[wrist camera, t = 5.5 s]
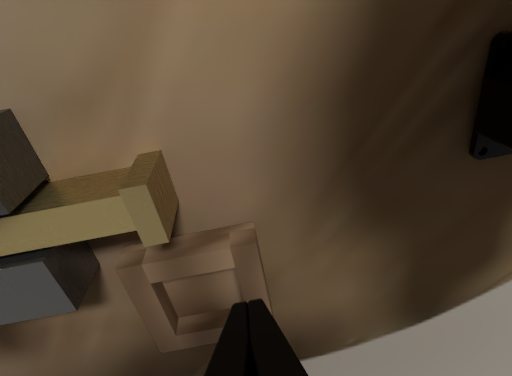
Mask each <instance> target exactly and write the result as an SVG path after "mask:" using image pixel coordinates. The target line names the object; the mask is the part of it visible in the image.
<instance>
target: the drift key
mask: <svg viewBox="0 0 512 376" xmlns="http://www.w3.org/2000/svg"><path fill="white" fill-rule="evenodd" d="M178 202H179V201H178V198H177V195H176V192H175V189H174V187H173V184H172V181H171V178H170V175H169V172H168V169H167V167H166V164H165V161H164V158H163V155H162V152H161V151H156V152H150V153H145V154H140V155H138V156H137V158H136V159H135V161H134V163H133V165H132V166H131V167H129V168H124V169H119V170H114V171H108V172H103V173H98V174H93V175H88V176H82V177H77V178H72V179H67V180H61V181H56V182H51V183H46V184H40V185H38V186H37V187H36V188H35V189H34V190H33V191H32V192H31V193H30V194H29V195H28V196H27V197H26V198H25V199H24V200H23V201H22V202H21V203H20V204H19V205H18V206H17V207H16V208H15V209H13V210H12V211H11V212H10V213H9V214H5V215H0V256H4V255H10V254H15V253H20V252H26V251H31V250H36V249H41V248H47V247H52V246H57V245H63V244H68V243H73V242H78V241H84V240H89V239H94V238H99V237H105V236H110V235H115V234H121V233H126V232H131V231H136V230H137V232H138V234H139V237H140V239H141V241H142V243H143V245H144V247H147V246H152V245H158V244H163V243H168V242H169V241H170V237H171V232H172V228H173V224H174V220H175V215H176V211H177V207H178Z"/></svg>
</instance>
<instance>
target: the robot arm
mask: <svg viewBox="0 0 512 376" xmlns="http://www.w3.org/2000/svg"><path fill="white" fill-rule="evenodd" d="M505 39H506V43H505V45H504V46H503V48H502V43H503V42H504V41H505ZM481 148H482V150H481V151H480V152H479V150H480V149H481ZM469 154H470V155H471V156H472V157H474V158H476V159H478V160H482V159H487V158H492V157H497V156H503V155H508V154H512V30H509V31H504V32H501V33H499V34H497V35H496V36H495V37H494V39H493V40H492V42H491V44H490V49H489V54H488V59H487V64H486V69H485V74H484V79H483V84H482V89H481V94H480V99H479V104H478V109H477V114H476V119H475V124H474V129H473V134H472V139H471V144H470V149H469ZM204 376H308V374H307V373H306V371H305V369H304V368H303V366H302V364H301V363H300V361H299V359H298V358H297V356H296V354H295V353H294V351H293V349H292V348H291V346H290V344H289V343H288V341H287V339H286V338H285V336H284V334H283V333H282V331H281V329H280V328H279V326H278V324H277V323H276V321H275V319H274V318H273V316H272V314H271V313H270V311H269V309H268V308H267V306H266V304H265V303H264V301H263V300H262V299H261V298H258V299H253V300H249V301H248V303H247V302H246V301H243V302H238V303H234V304H233V305H232V307H231V309H230V312H229V314H228V317H227V319H226V322H225V324H224V327H223V329H222V332H221V334H220V337H219V339H218V342H217V345H216V347H215V350H214V352H213V355H212V357H211V360H210V362H209V365H208V367H207V370H206V372H205V375H204Z"/></svg>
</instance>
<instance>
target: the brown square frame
mask: <svg viewBox="0 0 512 376" xmlns="http://www.w3.org/2000/svg"><path fill="white" fill-rule="evenodd" d="M115 271H116V273H117V275H118V276H119V278H120V280H121V282H122V284H123V285H124V287H125V289H126V291H127V293H128V295H129V296H130V298H131V300H132V302H133V304H134V305H135V307H136V309H137V311H138V313H139V315H140V316H141V318H142V320H143V322H144V324H145V325H146V327H147V329H148V331H149V333H150V335H151V336H152V338H153V340H154V342H155V344H156V345H157V347H158V349H159V351H160V353H165V352H171V351H176V350H181V349H187V348H192V347H197V346H203V345H208V344H213V343H217V342H218V339H219V337H220V334H221V332H222V329H223V327H224V324H225V322H226V319H227V317H228V314H229V312H230V309H231V307H232V305H233V304H234V303H238V302H243V301H246V302H247V303H248V301H249V300H253V299H258V298H261V299H262V300H263V301H264V303H265V304H266V306H267V308H268V309H269V311H270V313H271V314H272V316H273V312H272V306H271V302H270V297H269V292H268V287H267V283H266V278H265V273H264V269H263V264H262V259H261V254H260V250H259V245H258V240H257V236H256V231H255V226H254V222H250V223H245V224H239V225H234V226H229V227H224V228H218V229H213V230H208V231H202V232H197V233H192V234H187V235H181V236H176V237H171V238H170V241H169V242H168V243H163V244H158V245H152V246H147V247H144V245H143V243H139V244H134V245H129V246H125V247H124V249H123V252H122V254H121V257H120V259H119V261H118V264H117V266H116V269H115Z"/></svg>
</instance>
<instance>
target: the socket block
mask: <svg viewBox="0 0 512 376" xmlns="http://www.w3.org/2000/svg"><path fill="white" fill-rule="evenodd" d="M47 177H48V174H47V172H46V170H45V169H44V167H43V165H42V164H41V162H40V160H39V158H38V157H37V155H36V153H35V151H34V150H33V148H32V146H31V144H30V143H29V141H28V139H27V138H26V136H25V134H24V132H23V131H22V129H21V127H20V125H19V124H18V122H17V120H16V119H15V117H14V115H13V113H12V112H11V110H10V109H5V110H0V215H5V214H9V213H10V212H11V211H12V210H13V209H15V208H16V207H17V206H18V205H19V204H20V203H21V202H22V201H23V200H24V199H25V198H26V197H27V196H28V195H29V194H30V193H31V192H32V191H33V190H34V189H35V188H36V187H37V186H38V185H39V184H40V183H41V182H42V181H44V180H45V179H46V178H47ZM98 266H99V262H98V261H97V259H96V257H95V255H94V254H93V252H92V250H91V248H90V247H89V245H88V243H87V242H86V240H84V241H78V242H73V243H68V244H63V245H57V246H52V247H47V248H41V249H36V250H31V251H26V252H20V253H15V254H10V255H4V256H0V325H4V324H10V323H15V322H20V321H26V320H31V319H36V318H42V317H47V316H52V315H58V314H63V313H68V312H74V311H77V310H78V308H79V306H80V304H81V302H82V299H83V297H84V295H85V293H86V291H87V289H88V287H89V285H90V283H91V281H92V279H93V277H94V275H95V273H96V270H97V268H98Z"/></svg>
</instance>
